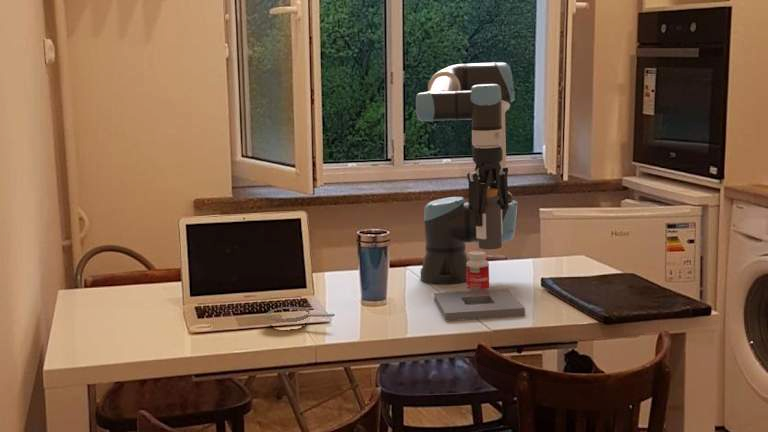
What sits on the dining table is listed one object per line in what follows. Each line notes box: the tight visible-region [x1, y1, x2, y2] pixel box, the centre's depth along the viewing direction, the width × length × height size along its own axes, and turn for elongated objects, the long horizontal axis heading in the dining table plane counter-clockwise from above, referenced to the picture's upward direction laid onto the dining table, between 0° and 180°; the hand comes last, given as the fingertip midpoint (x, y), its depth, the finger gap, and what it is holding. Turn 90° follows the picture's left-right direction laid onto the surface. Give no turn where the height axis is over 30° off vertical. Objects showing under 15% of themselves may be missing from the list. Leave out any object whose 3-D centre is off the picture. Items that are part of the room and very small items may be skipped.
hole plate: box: [433, 288, 526, 321], centre depth 257 cm, size 20×20×2 cm
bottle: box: [478, 188, 502, 250], centre depth 253 cm, size 6×6×15 cm
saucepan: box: [266, 306, 336, 323], centre depth 247 cm, size 11×18×4 cm, turn 68°
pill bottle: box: [466, 250, 490, 291], centre depth 272 cm, size 6×6×11 cm
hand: (489, 236), depth 254 cm, fingers closed on bottle, 6 cm apart
